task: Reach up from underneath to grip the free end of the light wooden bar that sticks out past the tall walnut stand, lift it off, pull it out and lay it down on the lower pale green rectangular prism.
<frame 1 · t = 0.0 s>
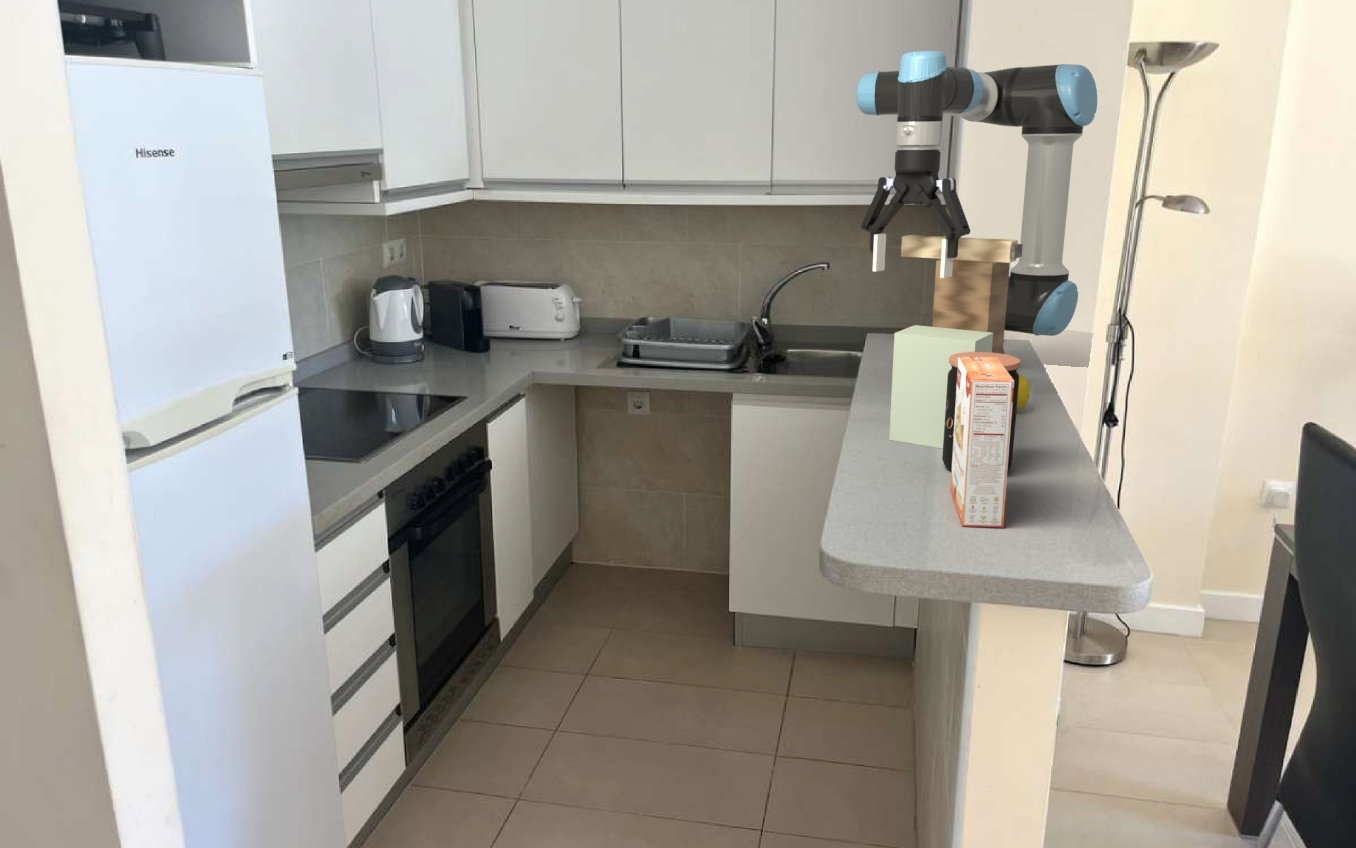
hand: (911, 274, 175), 28 cm above the table, tool pointing down, fingers open, 13 cm apart
pale green rectangular prism: (936, 439, 175), on the table
lemon: (1012, 413, 192), on the table
light wooden bar: (957, 258, 180), point 30 cm above the table, touching stand
coffee jar: (976, 470, 160), on the table
cracker box: (974, 511, 142), on the table
stand: (962, 421, 187), on the table
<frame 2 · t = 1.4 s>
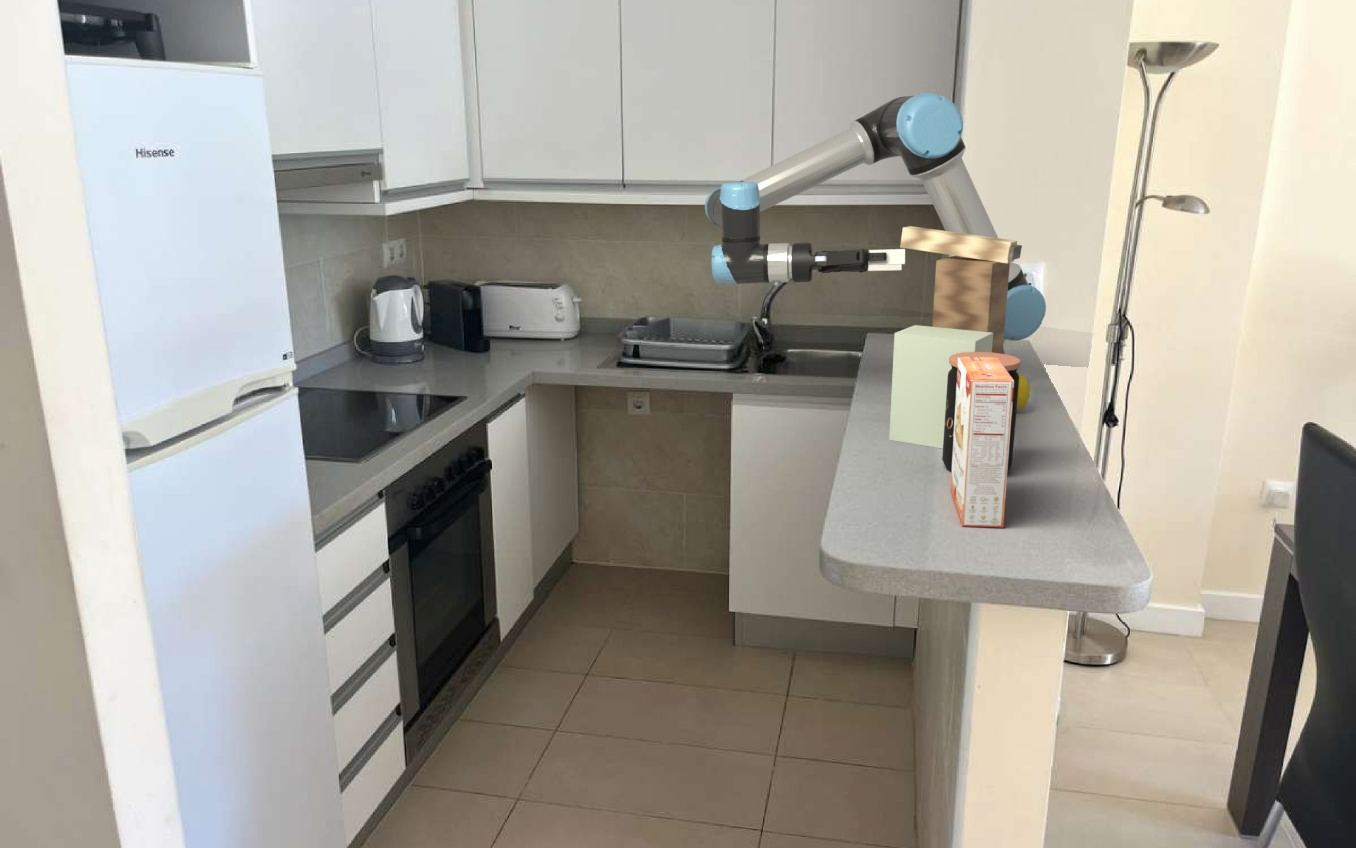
hand: (903, 260, 191), 29 cm above the table, tool horizontal, fingers open, 13 cm apart
light wooden bar: (955, 254, 180), point 31 cm above the table, tilted 5°
everything else where it was.
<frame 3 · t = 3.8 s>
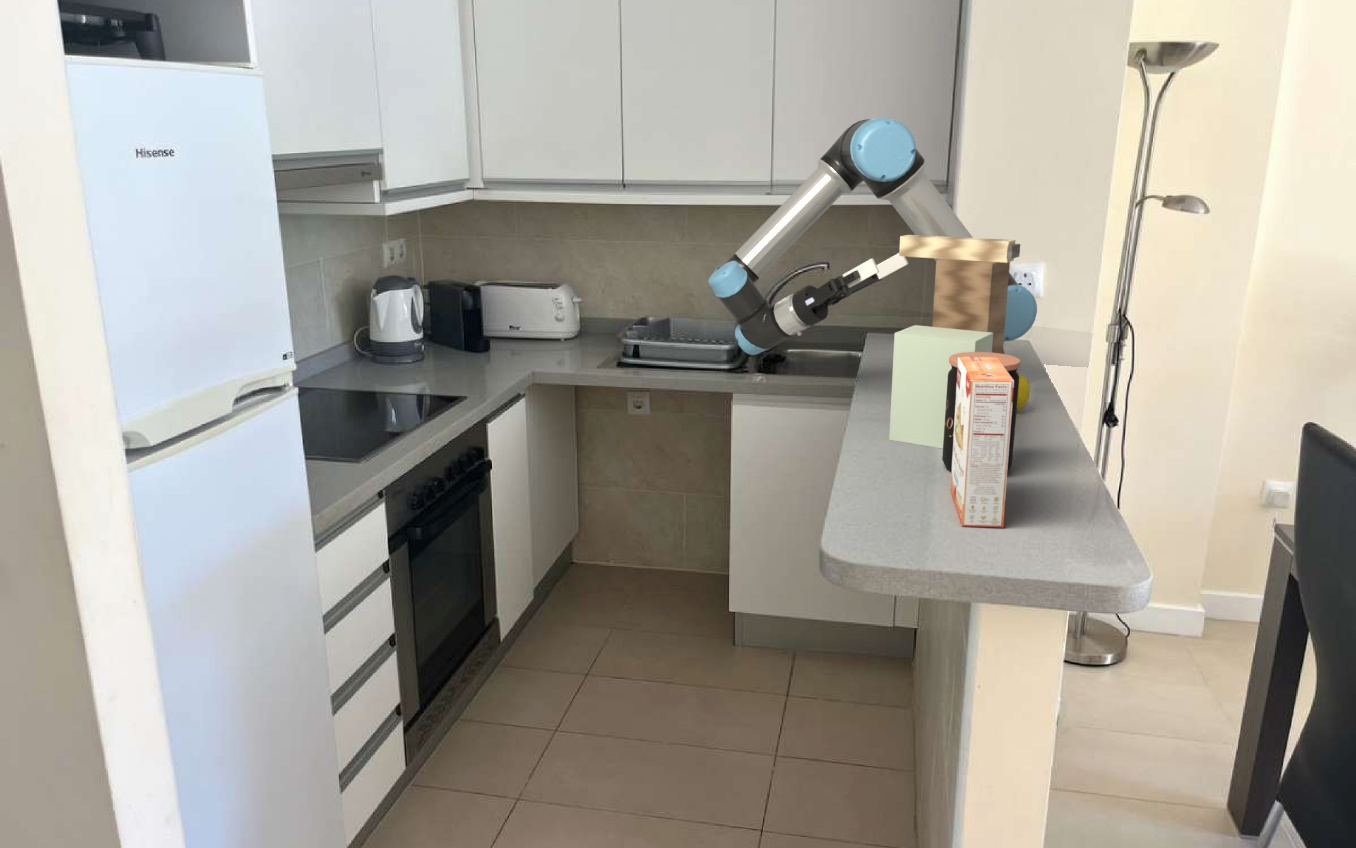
hand: (890, 261, 187), 29 cm above the table, tool pointing upward, fingers open, 13 cm apart
light wooden bar: (955, 258, 180), point 30 cm above the table, touching stand
everything else where it was.
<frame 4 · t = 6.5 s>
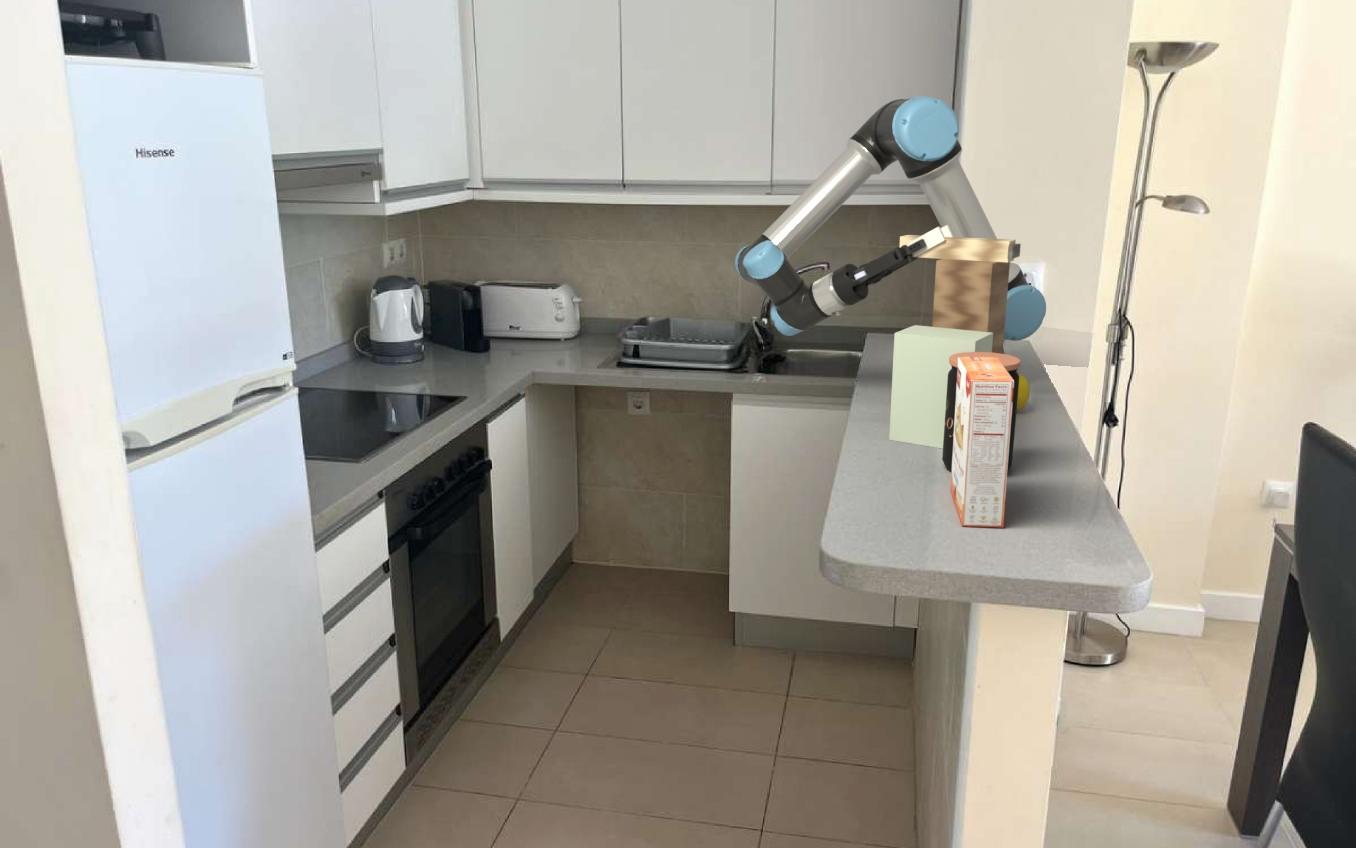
hand: (946, 232, 180), 35 cm above the table, tool pointing upward, fingers closed on light wooden bar, 4 cm apart
light wooden bar: (955, 258, 180), point 30 cm above the table, touching gripper, stand
everything else where it was.
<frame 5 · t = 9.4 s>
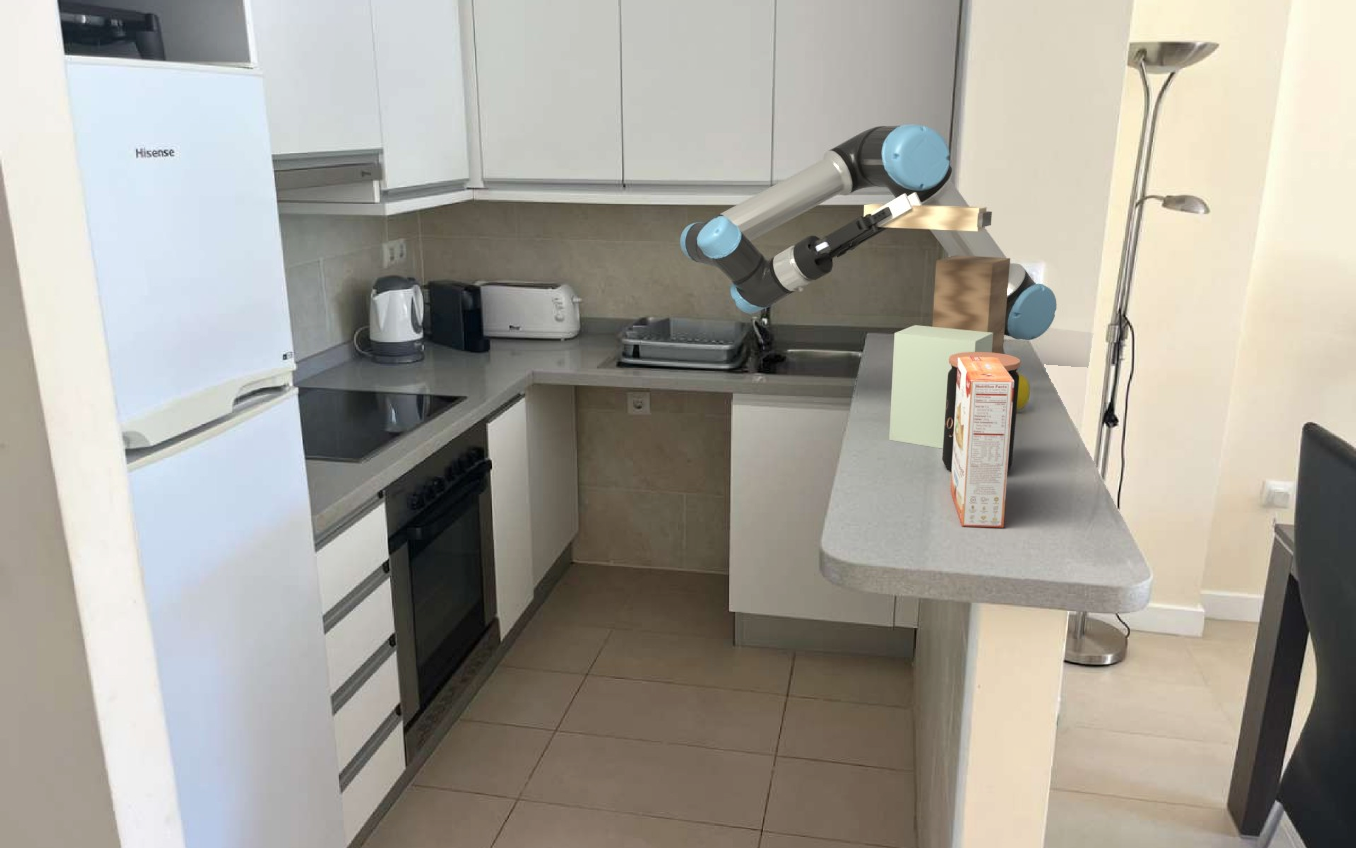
hand: (913, 200, 168), 41 cm above the table, tool pointing upward, fingers closed on light wooden bar, 4 cm apart
light wooden bar: (922, 227, 168), point 36 cm above the table, touching gripper
everything else where it was.
when the fingers open (25 cm above the table, at t = 12.7 s): light wooden bar drops 1 cm, resting on pale green rectangular prism.
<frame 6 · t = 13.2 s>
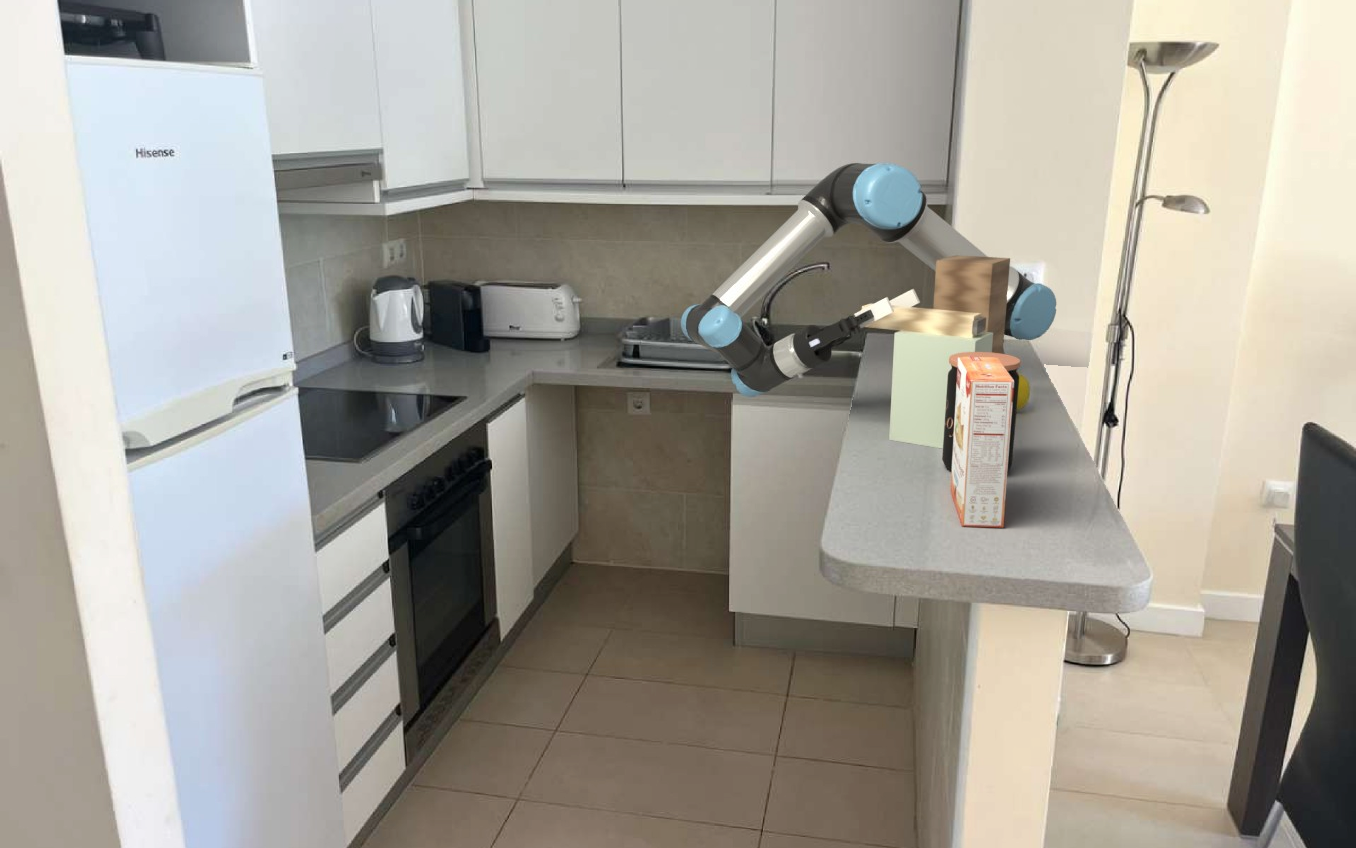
hand: (903, 300, 173), 24 cm above the table, tool pointing upward, fingers open, 11 cm apart
light wooden bar: (918, 330, 172), point 19 cm above the table, touching pale green rectangular prism
everything else where it was.
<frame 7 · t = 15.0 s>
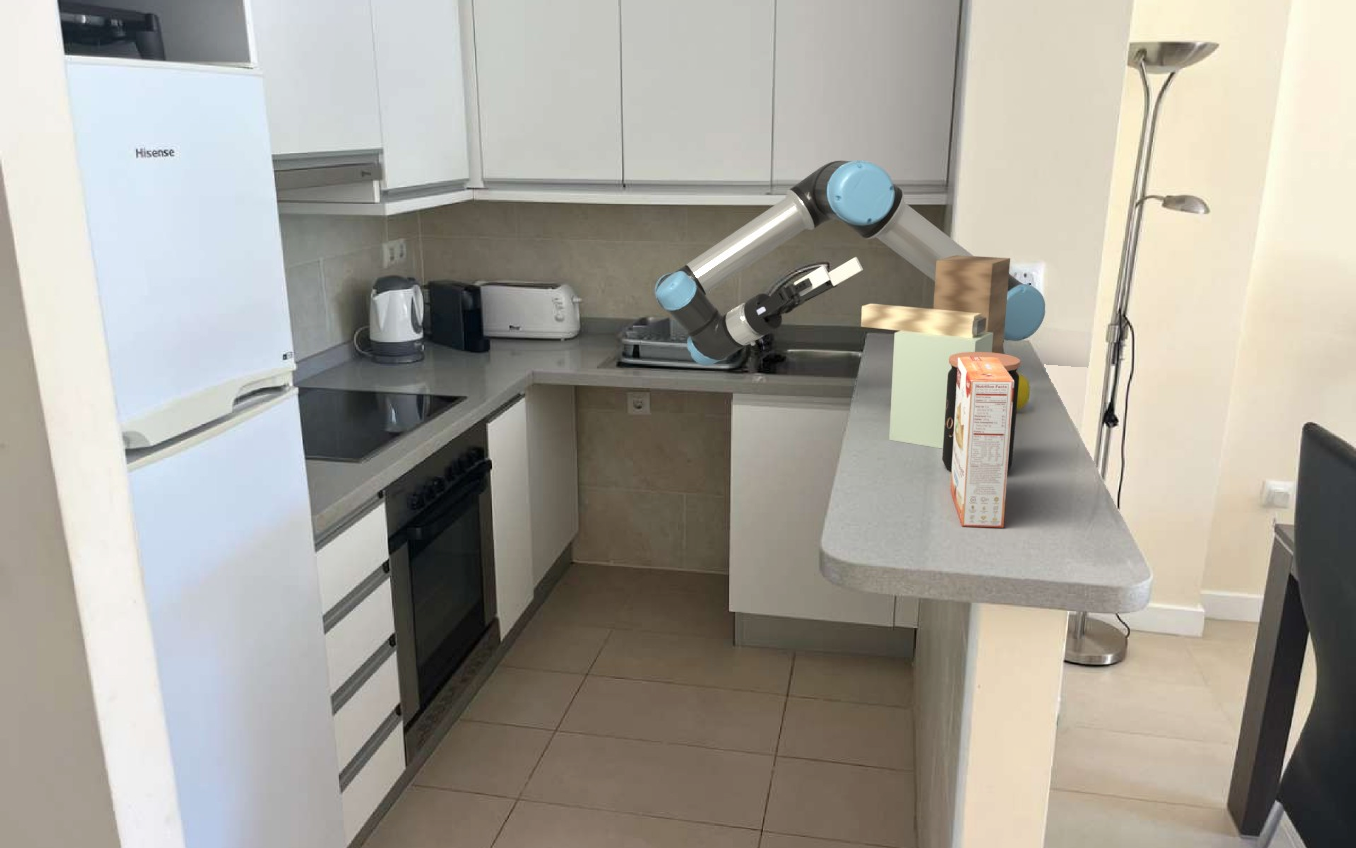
hand: (843, 267, 180), 29 cm above the table, tool pointing upward, fingers open, 13 cm apart
nothing on the table moved.
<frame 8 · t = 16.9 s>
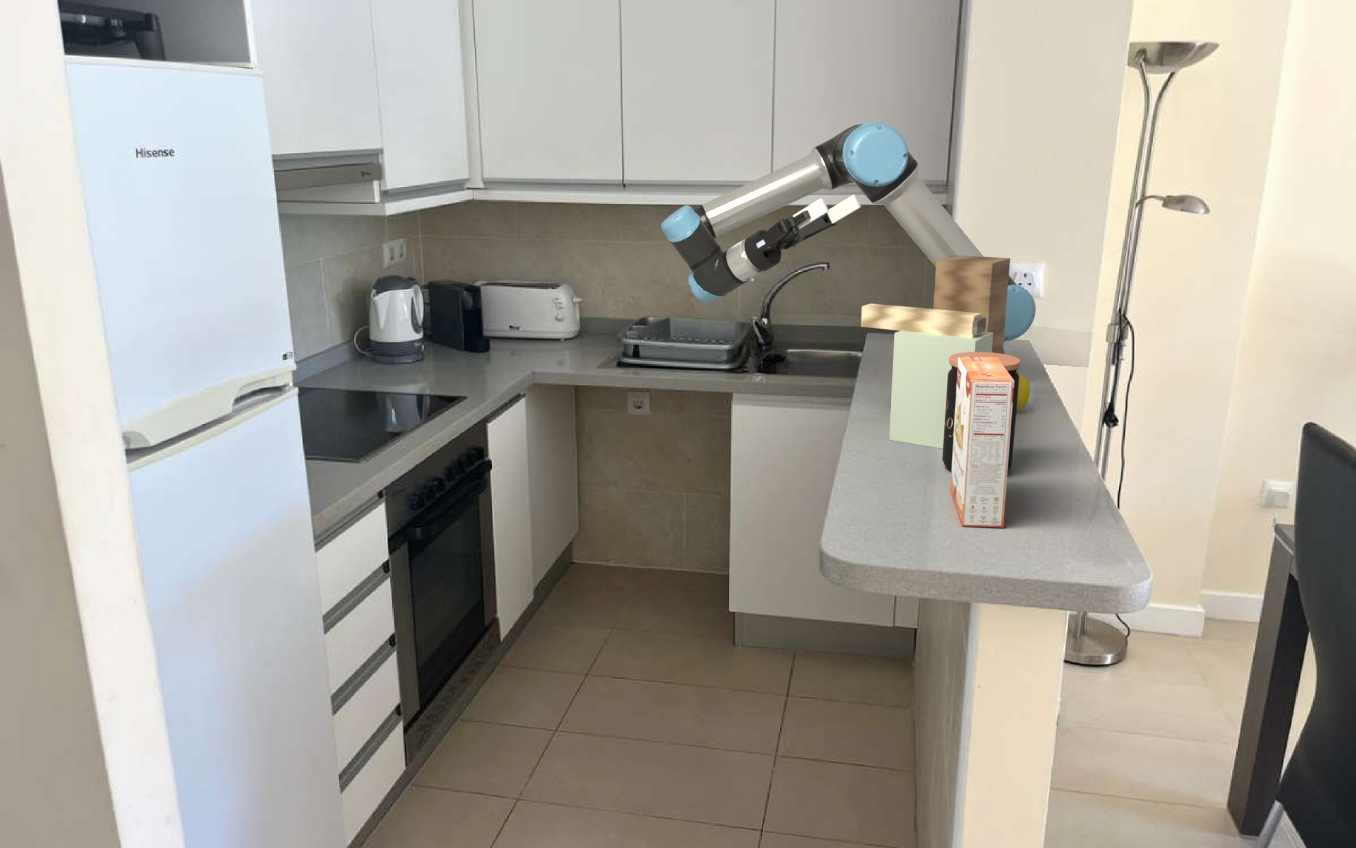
hand: (842, 202, 185), 40 cm above the table, tool pointing upward, fingers open, 13 cm apart
nothing on the table moved.
at the end: light wooden bar inside the target area on the pale green rectangular prism (0.5 cm from its centre), point 19.0 cm above the pale green rectangular prism's base; light wooden bar touching pale green rectangular prism; the gripper is holding nothing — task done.
